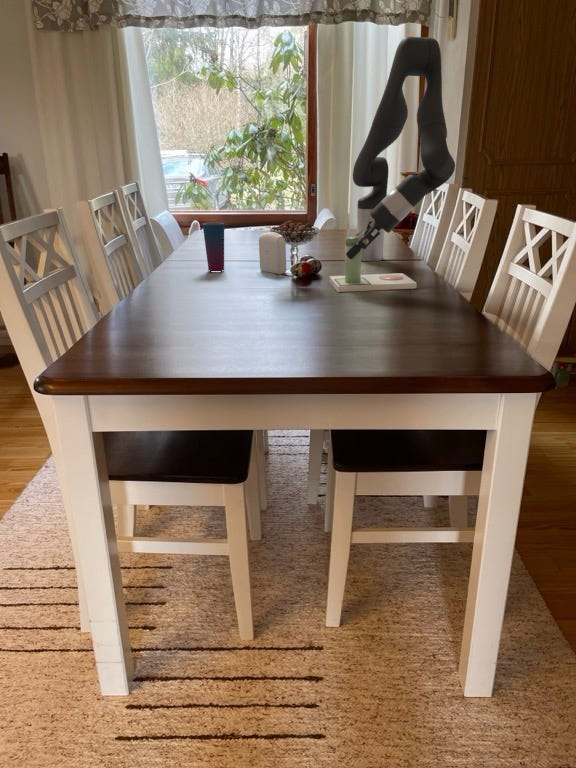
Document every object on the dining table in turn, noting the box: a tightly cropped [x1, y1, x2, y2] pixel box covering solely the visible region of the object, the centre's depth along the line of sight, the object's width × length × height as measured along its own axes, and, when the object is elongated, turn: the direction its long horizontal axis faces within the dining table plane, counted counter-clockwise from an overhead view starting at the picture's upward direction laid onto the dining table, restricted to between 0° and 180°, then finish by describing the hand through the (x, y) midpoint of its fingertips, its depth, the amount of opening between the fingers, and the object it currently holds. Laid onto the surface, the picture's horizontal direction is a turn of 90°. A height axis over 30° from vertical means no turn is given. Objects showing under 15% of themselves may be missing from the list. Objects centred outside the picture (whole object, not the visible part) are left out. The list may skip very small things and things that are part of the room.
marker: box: [344, 236, 362, 283], centre depth 167 cm, size 4×4×12 cm
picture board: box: [328, 272, 418, 293], centre depth 172 cm, size 14×22×2 cm, turn 96°
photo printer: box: [258, 231, 287, 275], centre depth 191 cm, size 10×4×12 cm, turn 39°
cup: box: [202, 221, 225, 271], centre depth 193 cm, size 7×7×15 cm
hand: (347, 254), depth 167 cm, fingers open, 8 cm apart
